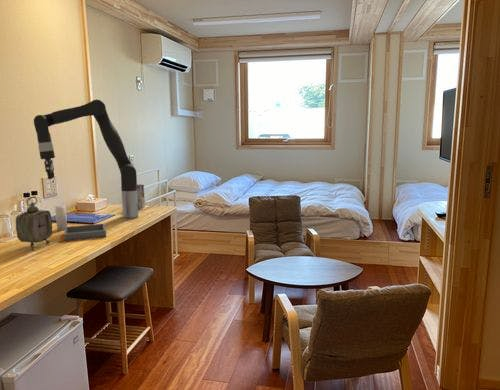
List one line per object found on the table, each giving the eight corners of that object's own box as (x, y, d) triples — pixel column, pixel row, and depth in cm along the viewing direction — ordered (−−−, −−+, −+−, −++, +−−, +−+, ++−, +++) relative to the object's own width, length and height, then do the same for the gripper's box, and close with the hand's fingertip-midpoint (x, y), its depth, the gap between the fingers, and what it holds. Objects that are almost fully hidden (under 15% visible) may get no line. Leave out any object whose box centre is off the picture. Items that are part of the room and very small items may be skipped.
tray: (104, 229, 231) (104, 223, 230) (106, 236, 217) (105, 230, 217) (65, 233, 223) (65, 226, 223) (65, 241, 210) (64, 234, 209)
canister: (67, 227, 234) (65, 205, 231) (67, 230, 229) (65, 207, 227) (57, 228, 232) (55, 206, 230) (57, 230, 227) (55, 208, 225)
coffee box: (136, 206, 287) (134, 184, 284) (145, 207, 287) (144, 184, 284) (132, 209, 278) (130, 186, 275) (141, 210, 278) (140, 186, 275)
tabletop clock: (33, 252, 192) (28, 200, 188) (16, 250, 194) (11, 199, 189) (53, 243, 206) (49, 194, 201) (37, 241, 208) (33, 193, 203)
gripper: (51, 149, 229) (56, 178, 232) (55, 149, 243) (60, 176, 245) (37, 151, 227) (42, 180, 230) (41, 150, 240) (46, 178, 243)
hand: (51, 178), depth 237 cm, fingers open, 8 cm apart
